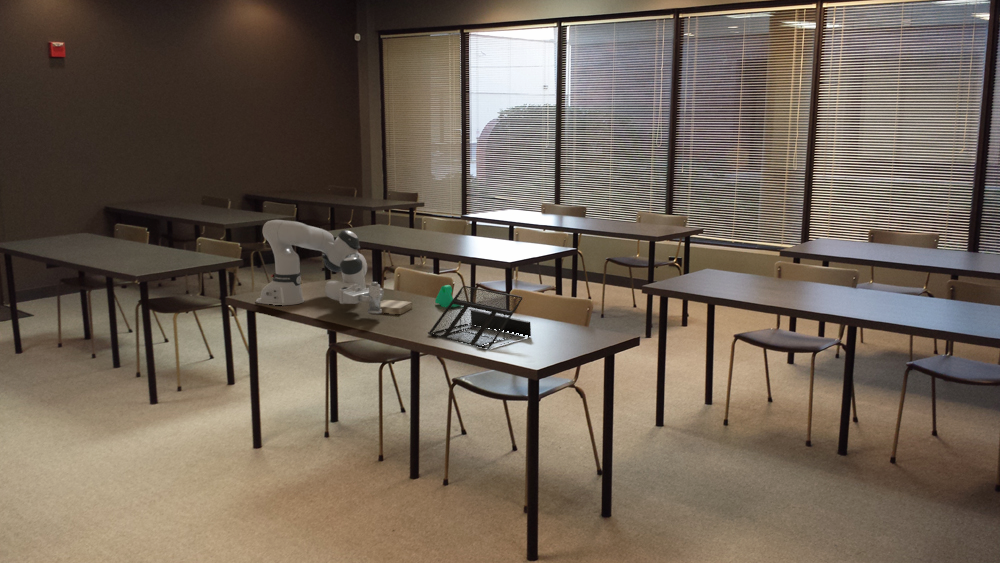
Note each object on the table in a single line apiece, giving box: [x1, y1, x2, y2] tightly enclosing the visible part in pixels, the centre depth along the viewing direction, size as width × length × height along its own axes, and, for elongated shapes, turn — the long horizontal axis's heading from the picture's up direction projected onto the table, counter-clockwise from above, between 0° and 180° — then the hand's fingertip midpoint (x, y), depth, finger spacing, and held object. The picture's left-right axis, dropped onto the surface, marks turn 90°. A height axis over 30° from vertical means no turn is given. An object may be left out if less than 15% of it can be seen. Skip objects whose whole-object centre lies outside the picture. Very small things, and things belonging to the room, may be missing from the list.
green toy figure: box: [435, 284, 460, 309], centre depth 387 cm, size 12×8×10 cm, turn 46°
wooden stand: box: [380, 299, 413, 315], centre depth 377 cm, size 14×14×3 cm
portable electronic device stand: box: [427, 285, 532, 350], centre depth 332 cm, size 33×28×18 cm
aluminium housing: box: [367, 281, 383, 315], centre depth 356 cm, size 6×6×13 cm
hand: (376, 297), depth 355 cm, fingers closed on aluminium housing, 5 cm apart
